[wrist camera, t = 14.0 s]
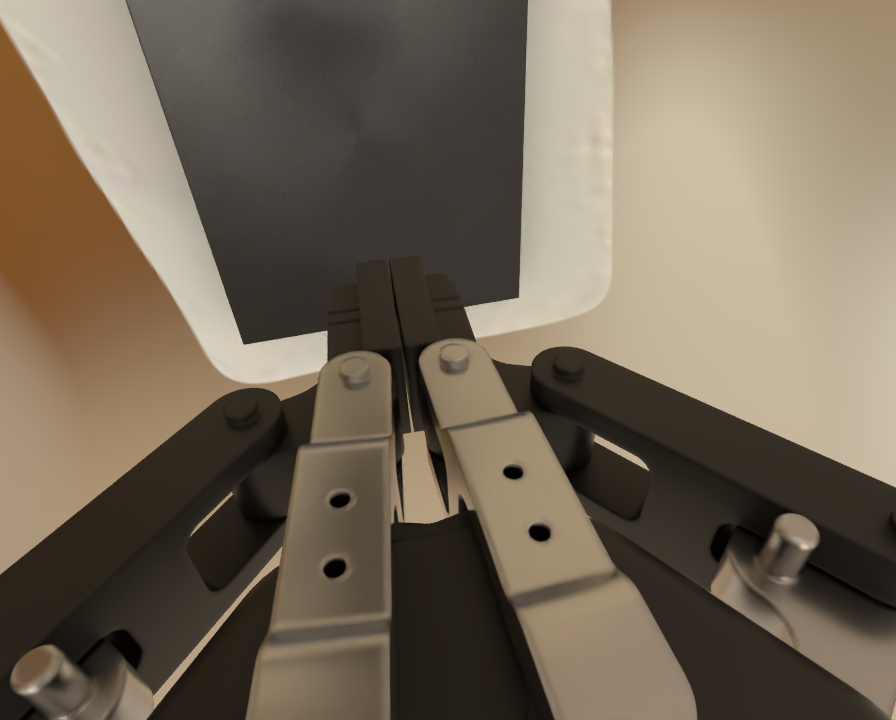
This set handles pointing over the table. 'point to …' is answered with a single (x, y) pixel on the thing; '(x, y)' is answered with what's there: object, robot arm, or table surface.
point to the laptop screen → (344, 142)
